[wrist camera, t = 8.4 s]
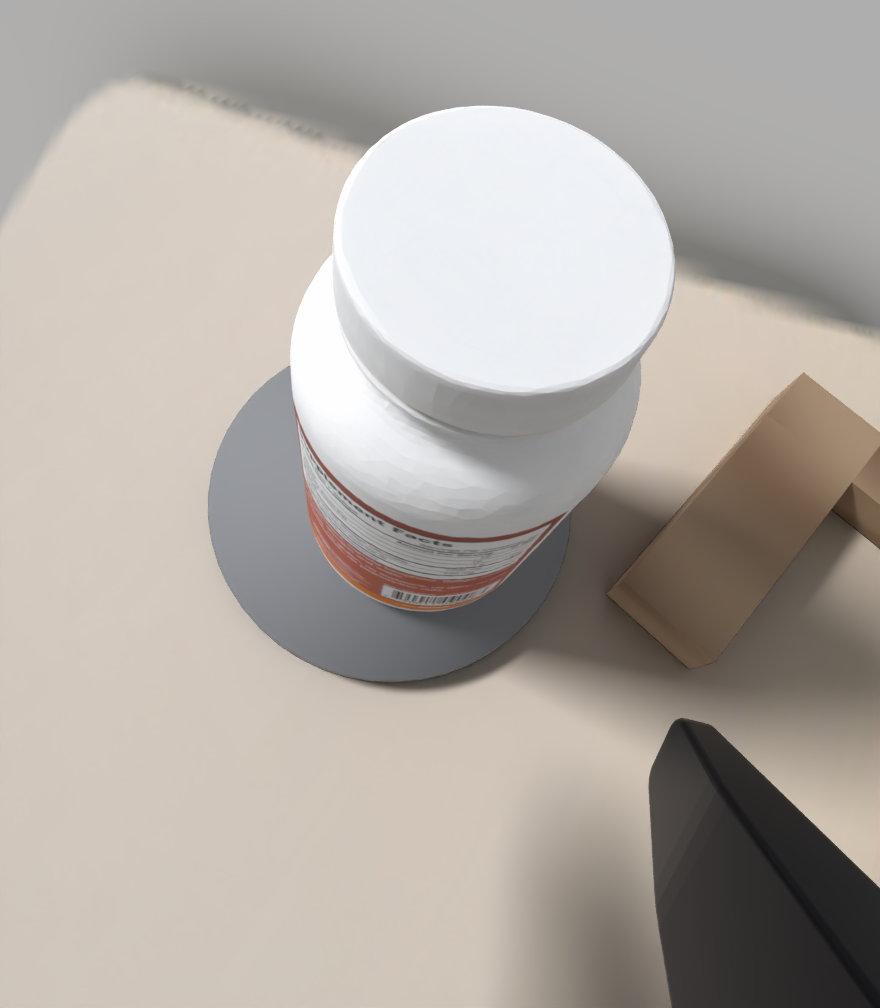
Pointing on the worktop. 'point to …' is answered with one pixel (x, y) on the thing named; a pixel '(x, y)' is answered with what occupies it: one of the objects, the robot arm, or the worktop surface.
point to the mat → (314, 582)
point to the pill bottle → (472, 348)
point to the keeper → (753, 521)
